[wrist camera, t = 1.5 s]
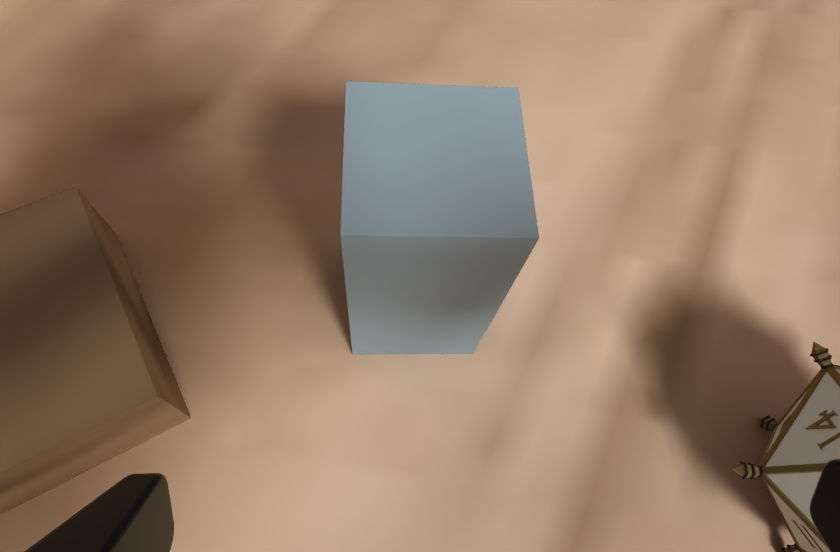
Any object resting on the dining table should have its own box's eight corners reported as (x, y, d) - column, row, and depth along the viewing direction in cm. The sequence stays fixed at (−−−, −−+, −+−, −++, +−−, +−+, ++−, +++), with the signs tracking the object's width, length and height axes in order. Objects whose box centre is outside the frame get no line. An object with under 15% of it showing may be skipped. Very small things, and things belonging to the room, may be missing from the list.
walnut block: (193, 419, 21) (157, 396, 18) (-65, 549, 19) (-168, 553, 15) (119, 238, 24) (76, 186, 21) (-111, 330, 22) (-207, 289, 18)
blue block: (472, 353, 23) (538, 237, 14) (352, 354, 23) (340, 234, 13) (465, 247, 25) (518, 88, 16) (354, 246, 25) (345, 81, 16)
